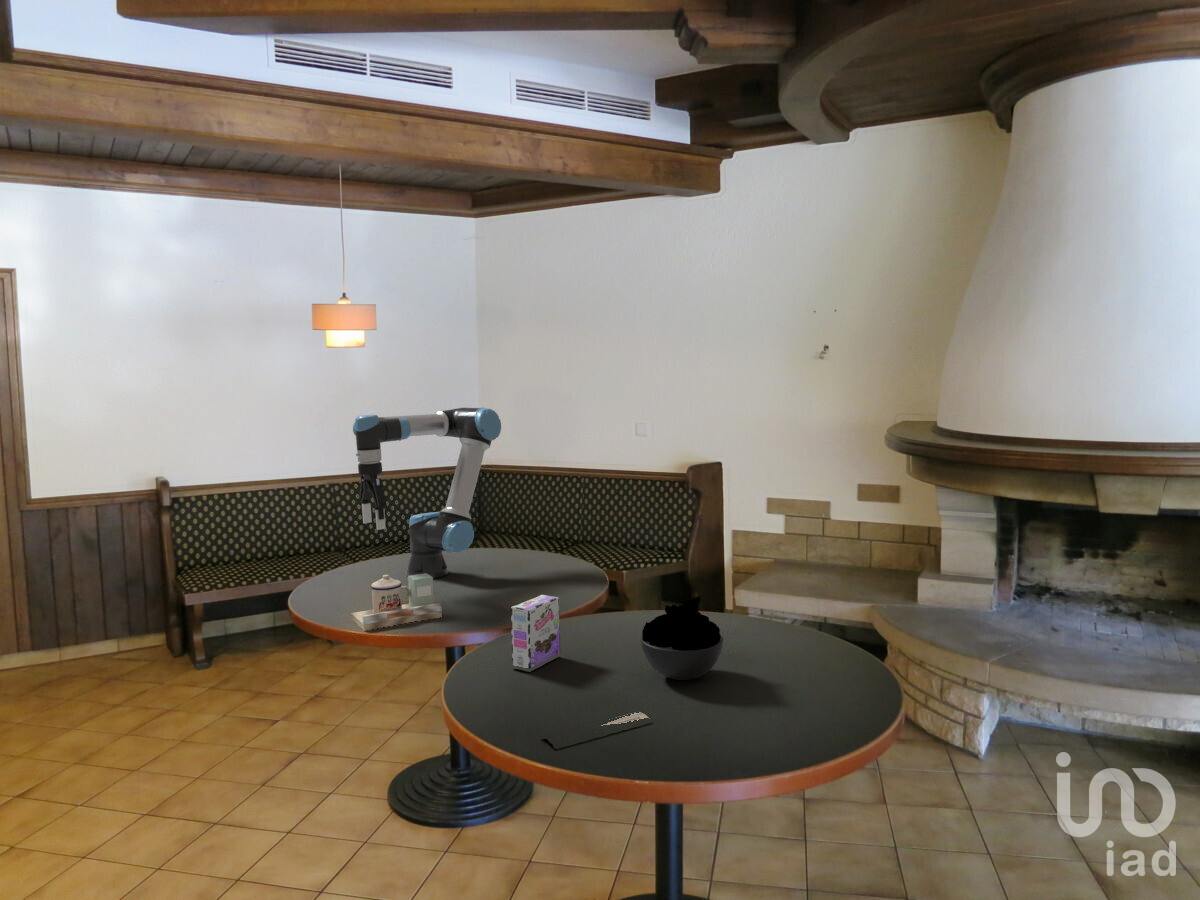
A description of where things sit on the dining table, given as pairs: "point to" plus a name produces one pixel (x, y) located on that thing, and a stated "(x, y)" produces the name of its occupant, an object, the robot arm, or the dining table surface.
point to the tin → (420, 590)
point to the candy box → (535, 631)
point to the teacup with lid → (387, 595)
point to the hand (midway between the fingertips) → (374, 525)
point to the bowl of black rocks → (682, 642)
